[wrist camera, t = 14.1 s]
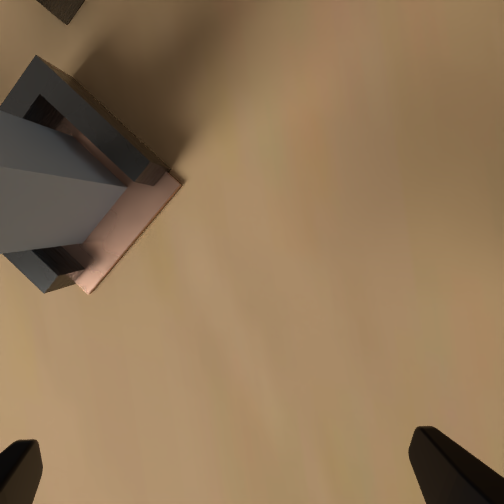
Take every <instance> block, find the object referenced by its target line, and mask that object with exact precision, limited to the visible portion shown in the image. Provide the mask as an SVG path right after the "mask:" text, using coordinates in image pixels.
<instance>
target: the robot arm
mask: <svg viewBox="0 0 504 504" xmlns="http://www.w3.org/2000/svg"><path fill="white" fill-rule="evenodd" d="M408 453H409V459H410V462H411V465H412V467H413V470H414V473H415V475H416V478H417V481H418V483H419V486H420V489H421V491H422V494H423V496H424V499H425V502H426V504H504V478H503V477H502V476H500V475H499V474H498V473H496V472H495V471H494V470H492V469H491V468H490V467H488V466H487V465H486V464H484V463H483V462H481V461H480V460H479V459H477V458H476V457H475V456H473V455H472V454H471V453H469V452H468V451H466V450H465V449H464V448H462V447H461V446H460V445H458V444H457V443H456V442H454V441H453V440H452V439H450V438H449V437H447V436H446V435H445V434H443V433H442V432H441V431H439V430H438V429H436V428H435V427H432V426H419V427H417V428H416V429H415V431H414V434H413V437H412V440H411V443H410V446H409V452H408ZM42 470H43V464H42V459H41V453H40V448H39V443H38V441H37V440H34V439H30V440H17V441H15V442H13V443H12V444H11V445H10V446H8V447H7V448H6V449H5V450H4V451H2V452H1V453H0V504H32V503H33V500H34V497H35V494H36V491H37V488H38V485H39V482H40V479H41V476H42Z"/></svg>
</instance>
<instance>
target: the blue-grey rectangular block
mask: <svg viewBox="0 0 504 504" xmlns="http://www.w3.org/2000/svg"><path fill="white" fill-rule="evenodd" d="M127 188H128V187H126V186H125V185H124V184H123V183H122V182H121V181H120V180H119V179H118V178H117V177H116V176H115V175H114V174H113V173H112V172H110V171H109V170H108V169H107V168H106V167H105V166H104V165H103V164H102V163H101V162H100V161H99V160H98V159H97V158H95V157H94V156H93V155H92V154H91V153H90V152H89V151H88V150H87V149H86V148H85V147H84V146H83V145H82V144H81V143H79V142H78V141H77V140H76V139H75V138H74V137H73V136H71V135H68V134H65V133H62V132H60V131H57V130H54V129H51V128H48V127H46V126H43V125H40V124H37V123H34V122H31V121H29V120H26V119H23V118H20V117H17V116H14V115H12V114H9V113H6V112H3V111H0V254H2V253H10V252H18V251H26V250H33V249H41V248H49V247H57V246H65V245H72V244H80V243H83V242H84V241H85V240H86V238H87V237H88V236H89V235H90V233H91V232H92V231H93V230H94V228H95V227H96V226H97V225H98V223H99V222H100V221H101V220H102V219H103V217H104V216H105V215H106V214H107V212H108V211H109V210H110V209H111V207H112V206H113V205H114V204H115V202H116V201H117V200H118V199H119V197H120V196H121V195H122V194H123V193H124V191H125V190H126V189H127Z"/></svg>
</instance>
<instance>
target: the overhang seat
mask: <svg viewBox="0 0 504 504" xmlns="http://www.w3.org/2000/svg"><path fill="white" fill-rule="evenodd" d="M37 1H38V2H39V3H40V4H41V5H43V6H44V7H45V8H46V9H48V10H49V11H50V12H51V13H52V14H54V15H55V16H56V17H57V18H58V19H60V20H61V21H62V22H63V23H65V24H66V25H67V24H68V23H69V22H70V20H71V19H72V17H73V16H74V14H75V13H76V12H77V10H78V9H79V7H80V6H81V4H82V3H83V2H84V0H37ZM0 111H3V112H6V113H9V114H12V115H14V116H17V117H20V118H23V119H26V120H29V121H31V122H34V123H37V124H40V125H43V126H46V127H48V128H51V129H54V130H57V131H60V132H62V133H65V134H68V135H71V136H73V137H74V138H75V139H76V140H77V141H78V142H79V143H81V144H82V145H83V146H84V147H85V148H86V149H87V150H88V151H89V152H90V153H91V154H92V155H93V156H94V157H95V158H97V159H98V160H99V161H100V162H101V163H102V164H103V165H104V166H105V167H106V168H107V169H108V170H109V171H110V172H112V173H113V174H114V175H115V176H116V177H117V178H118V179H119V180H120V181H121V182H122V183H123V184H124V185H125V186H126V187H128V188H127V189H126V190H125V191H124V193H123V194H122V195H121V196H120V197H119V199H118V200H117V201H116V202H115V204H114V205H113V206H112V207H111V209H110V210H109V211H108V212H107V214H106V215H105V216H104V217H103V219H102V220H101V221H100V222H99V223H98V225H97V226H96V227H95V228H94V230H93V231H92V232H91V233H90V235H89V236H88V237H87V238H86V240H85V241H84V242H83V243H80V244H72V245H65V246H57V247H49V248H41V249H33V250H26V251H18V252H10V253H2V254H3V255H4V256H5V257H6V258H7V259H8V260H9V261H10V262H11V263H13V264H14V265H15V266H16V267H17V268H18V269H19V270H20V271H21V272H22V273H23V274H24V275H25V276H26V277H27V278H28V279H29V280H30V281H31V282H32V283H33V284H34V285H36V286H37V287H38V288H39V289H40V290H41V291H42V292H43V293H47V292H50V291H54V290H57V289H60V288H63V287H67V286H70V285H73V284H77V285H79V286H80V287H81V288H82V289H83V290H84V291H85V292H86V293H87V294H91V293H92V292H93V290H94V289H95V288H96V287H97V286H98V285H99V283H100V282H101V281H102V280H103V279H104V277H105V276H106V275H107V274H108V273H109V272H110V270H111V269H112V268H113V267H114V266H115V264H116V263H117V262H118V261H119V260H120V258H121V257H122V256H123V255H124V254H125V253H126V251H127V250H128V249H129V248H130V247H131V245H132V244H133V243H134V242H135V241H136V239H137V238H138V237H139V236H140V235H141V234H142V232H143V231H144V230H145V229H146V228H147V226H148V225H149V224H150V223H151V222H152V221H153V219H154V218H155V217H156V216H157V215H158V213H159V212H160V211H161V210H162V209H163V207H164V206H165V205H166V204H167V203H168V202H169V200H170V199H171V198H172V197H173V196H174V194H175V193H176V192H177V191H178V190H179V188H180V187H181V186H182V185H181V184H180V183H179V182H178V181H177V180H176V179H175V178H174V177H173V176H172V175H171V174H170V173H169V171H170V170H171V169H170V168H169V167H168V166H167V165H166V164H165V163H163V162H162V161H161V160H160V159H159V158H158V157H157V156H156V155H155V154H154V153H153V152H152V151H151V150H150V149H148V148H147V147H146V146H145V145H144V144H143V143H142V142H141V141H140V140H139V139H138V138H137V137H136V136H135V135H133V134H132V133H131V132H130V131H129V130H128V129H127V128H126V127H125V126H124V125H123V124H122V123H121V122H120V121H118V120H117V119H116V118H115V117H114V116H113V115H112V114H111V113H110V112H109V111H108V110H107V109H106V108H105V107H103V106H102V105H101V104H100V103H99V102H98V101H97V100H96V99H95V98H94V97H93V96H92V95H91V94H90V93H88V92H87V91H86V90H85V89H84V88H83V87H82V86H81V85H80V84H79V83H78V82H77V81H76V80H75V79H73V78H72V77H71V76H70V75H68V74H66V73H65V72H63V71H61V70H60V69H58V68H57V67H55V66H53V65H52V64H50V63H48V62H47V61H45V60H44V59H42V58H40V57H39V56H37V55H35V57H34V58H33V60H32V61H31V63H30V64H29V66H28V67H27V68H26V70H25V71H24V73H23V74H22V76H21V77H20V79H19V80H18V81H17V83H16V84H15V86H14V87H13V89H12V90H11V92H10V93H9V94H8V96H7V97H6V99H5V100H4V102H3V103H2V105H1V106H0Z"/></svg>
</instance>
